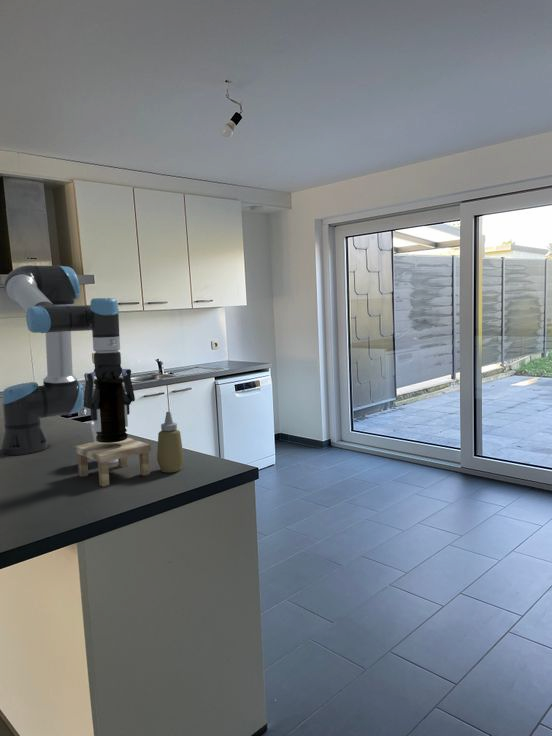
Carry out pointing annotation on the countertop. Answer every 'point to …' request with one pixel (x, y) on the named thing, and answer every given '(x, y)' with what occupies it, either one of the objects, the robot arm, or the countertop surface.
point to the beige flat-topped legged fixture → (112, 456)
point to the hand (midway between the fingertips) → (111, 428)
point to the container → (111, 411)
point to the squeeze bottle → (169, 446)
